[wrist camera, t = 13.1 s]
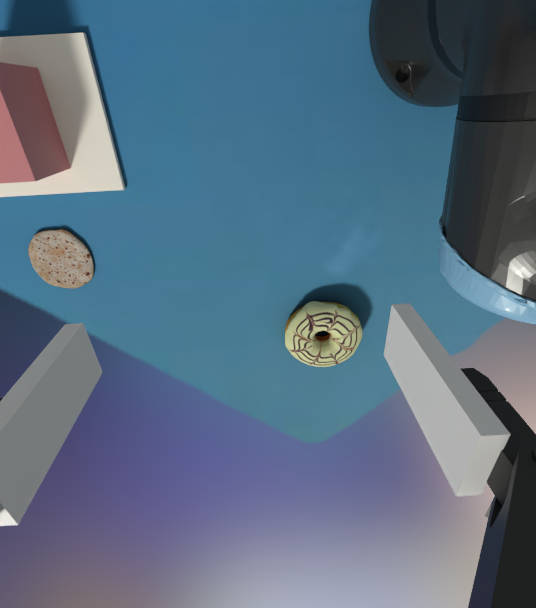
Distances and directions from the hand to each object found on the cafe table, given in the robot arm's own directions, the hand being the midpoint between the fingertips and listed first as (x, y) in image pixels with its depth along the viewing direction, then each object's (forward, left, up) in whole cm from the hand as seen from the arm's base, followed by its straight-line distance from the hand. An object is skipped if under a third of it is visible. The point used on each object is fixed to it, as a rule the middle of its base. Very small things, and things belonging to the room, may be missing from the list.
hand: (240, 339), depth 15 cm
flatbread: (+24, +7, -29) cm, 38 cm away
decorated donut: (-9, +20, -29) cm, 37 cm away
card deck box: (+21, -8, -28) cm, 36 cm away
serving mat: (+21, -8, -29) cm, 36 cm away
